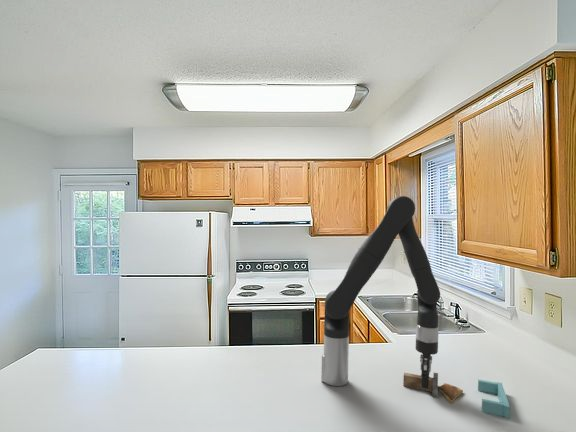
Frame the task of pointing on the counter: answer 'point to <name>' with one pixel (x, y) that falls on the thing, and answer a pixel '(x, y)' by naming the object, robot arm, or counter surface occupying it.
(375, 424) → the counter surface
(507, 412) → the u-shaped bracket
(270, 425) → the counter surface
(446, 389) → the shard
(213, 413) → the counter surface
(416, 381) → the hammer
